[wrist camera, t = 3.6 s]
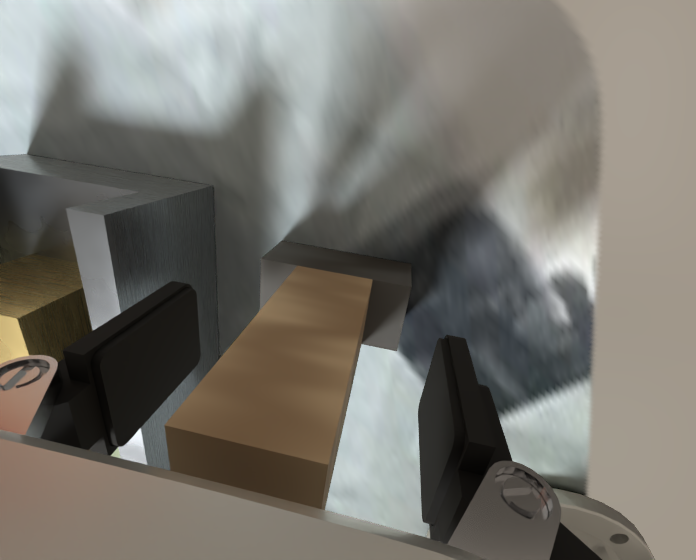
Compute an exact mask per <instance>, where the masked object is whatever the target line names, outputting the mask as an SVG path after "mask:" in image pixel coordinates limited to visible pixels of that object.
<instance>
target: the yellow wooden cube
mask: <svg viewBox="0 0 696 560" xmlns="http://www.w3.org/2000/svg"><path fill="white" fill-rule="evenodd" d="M92 331H93V330H92V325H91V321H90V316H89V312H88V307H87V303H86V298H85V294H84V289H83V284H82V280H81V275H80V271H79V266H78V263H75V262H70V261H65V260H60V259H55V258H50V257H45V256H40V255H35V254H30V255H27V256H24V257H21V258H18V259H15V260H12V261H9V262H6V263H2V264H0V364H1V363H4V362H6V361H9V360H12V359H15V358H19V357H24V356H30V355H45V356H50V357H52V358H54V359H56V361H57V363H58V362H59V361H61V360H62V359H64V355H63V352H62V350H63V349H65V348H66V347H68V346H69V345H71V344H73V343H74V342H76V341H77V340H79V339H81V338H82V337H84V336H85V335H87V334H88V333H90V332H92Z"/></svg>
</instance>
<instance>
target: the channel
mask: <svg viewBox="0 0 696 560" xmlns="http://www.w3.org/2000/svg"><path fill="white" fill-rule="evenodd" d="M30 254H35V255H40V256H45V257H50V258H55V259H60V260H65V261H70V262H75V263H78V266H79V271H80V275H81V280H82V284H83V289H84V294H85V298H86V303H87V307H88V312H89V316H90V321H91V325H92V330H95V329H96V328H98V327H100V326H101V325H103V324H104V323H106V322H107V321H109V320H111V319H112V318H114V317H115V316H117V315H118V314H120V313H122V312H123V311H125V310H126V309H128V308H130V307H131V306H133V305H134V304H136V303H137V302H139V301H141V300H142V299H144V298H145V297H147V296H149V295H150V294H152V293H153V292H155V291H156V290H158V289H160V288H161V287H163V286H164V285H166V284H167V283H169V282H171V281H176V282H181V283H186V284H190V285H191V286H192V288H193V289H194V290H195V291H196V293H197V306H198V322H199V337H200V352H201V356H200V360H199V363H198V365H197V366H196V367H195V368H194V369H193V370H192V371H191V373H190V374H189V375H188V376H187V377H186V378H185V379H184V380H183V381H182V383H181V384H180V385H179V386H178V387H177V388H176V389H175V390H174V391H173V393H172V394H171V395H170V396H169V397H168V398H167V399H166V400H165V401H164V403H163V404H162V405H161V406H160V407H159V408H158V409H157V410H156V411H155V413H154V414H153V415H152V416H151V417H150V418H149V419H148V420H147V421H146V423H145V424H144V425H143V426H142V427H141V428H140V429H139V430H138V431H137V433H136V434H135V435H134V436H133V437H132V438H131V439H130V440H129V441H128V442H127V443H126V444H125V445H124V446H121V447H118V448H119V453H120V457H121V459H125V460H130V461H134V462H138V463H142V464H146V465H150V466H154V467H158V468H162V469H166V470H170V464H169V456H168V449H167V441H166V434H165V426H164V425H165V424H166V423H167V421H168V420H169V419H170V418H171V417H172V415H173V414H174V413H175V412H176V411H177V409H178V408H179V407H180V406H181V405H182V403H183V402H184V401H185V400H186V399H187V397H188V396H189V395H190V394H191V393H192V391H193V390H194V389H195V388H196V387H197V385H198V384H199V383H200V382H201V381H202V379H203V378H204V377H205V376H206V375H207V373H208V372H209V371H210V370H211V369H212V367H213V366H214V365H215V364H216V363H217V361H218V360H219V339H218V311H217V283H216V255H215V227H214V199H213V186H212V185H206V184H200V183H194V182H188V181H183V180H177V179H171V178H165V177H159V176H153V175H147V174H141V173H135V172H129V171H123V170H117V169H111V168H105V167H99V166H93V165H87V164H81V163H75V162H69V161H63V160H57V159H51V158H45V157H39V156H33V155H27V154H21V155H4V156H0V264H2V263H6V262H9V261H12V260H15V259H18V258H21V257H24V256H27V255H30Z"/></svg>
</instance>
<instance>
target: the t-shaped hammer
mask: <svg viewBox="0 0 696 560" xmlns="http://www.w3.org/2000/svg"><path fill="white" fill-rule="evenodd" d="M411 288H412V280H411V264H409V263H404V262H398V261H393V260H387V259H382V258H376V257H370V256H365V255H359V254H354V253H348V252H343V251H337V250H332V249H326V248H321V247H315V246H309V245H304V244H298V243H293V242H287V241H281V242H280V243H279V244H278V245H276V246H275V247H274V248H273V249H272V250H271V251H269V252H268V253H267V254H266V255H265V256H264V257H262V258H261V274H260V311H259V312H258V313H257V315H256V316H255V317H254V318H253V319H252V321H251V322H250V323H249V324H248V325H247V327H246V328H245V329H244V330H243V331H242V333H241V334H240V335H239V336H238V337H237V339H236V340H235V341H234V342H233V343H232V345H231V346H230V347H229V348H228V349H227V351H226V352H225V353H224V354H223V355H222V357H221V358H220V359H219V360H218V361H217V363H216V364H215V365H214V366H213V367H212V369H211V370H210V371H209V372H208V373H207V375H206V376H205V377H204V378H203V379H202V381H201V382H200V383H199V384H198V385H197V387H196V388H195V389H194V390H193V391H192V393H191V394H190V395H189V396H188V397H187V399H186V400H185V401H184V402H183V403H182V405H181V406H180V407H179V408H178V409H177V411H176V412H175V413H174V414H173V415H172V417H171V418H170V419H169V420H168V421H167V423H166V424H165V425H164V426H165V434H166V441H167V449H168V456H169V464H170V471H174V472H178V473H181V474H185V475H189V476H193V477H197V478H201V479H205V480H209V481H213V482H217V483H221V484H225V485H229V486H233V487H237V488H241V489H245V490H249V491H253V492H257V493H260V494H264V495H268V496H272V497H276V498H280V499H284V500H288V501H291V502H295V503H299V504H303V505H307V506H311V507H315V508H318V509H322V510H325V506H326V501H327V497H328V492H329V488H330V483H331V479H332V474H333V470H334V465H335V461H336V456H337V452H338V447H339V443H340V438H341V434H342V429H343V425H344V420H345V416H346V411H347V406H348V402H349V397H350V393H351V388H352V384H353V379H354V375H355V370H356V366H357V361H358V357H359V352H360V348H361V344H364V345H369V346H374V347H379V348H384V349H389V350H394V351H397V348H398V343H399V339H400V335H401V331H402V326H403V322H404V318H405V313H406V309H407V305H408V300H409V296H410V292H411Z"/></svg>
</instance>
